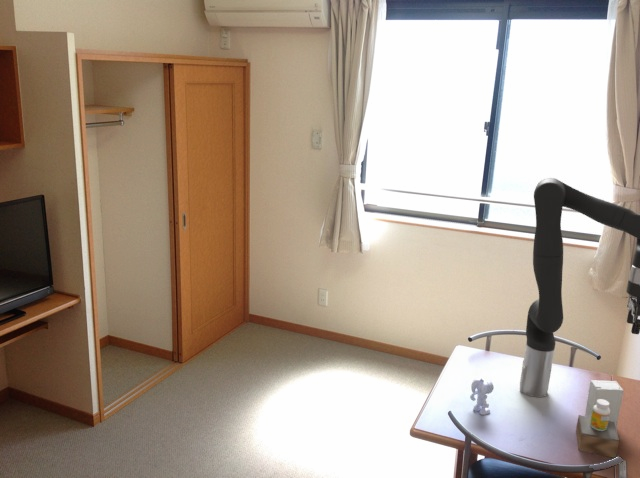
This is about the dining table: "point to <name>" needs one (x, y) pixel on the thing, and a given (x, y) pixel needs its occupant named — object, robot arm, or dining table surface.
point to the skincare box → (605, 397)
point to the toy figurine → (481, 395)
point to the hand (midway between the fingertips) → (632, 328)
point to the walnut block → (596, 438)
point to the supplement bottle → (600, 415)
